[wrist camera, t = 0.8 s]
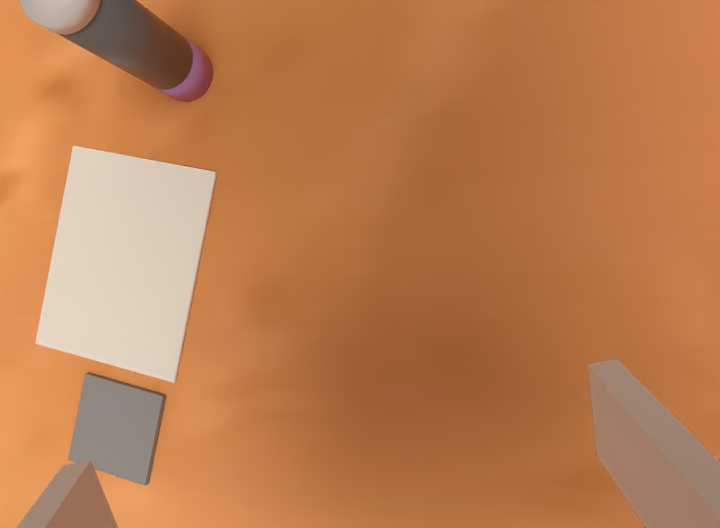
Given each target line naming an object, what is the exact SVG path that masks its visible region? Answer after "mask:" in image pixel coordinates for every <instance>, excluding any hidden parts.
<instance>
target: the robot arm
mask: <svg viewBox="0 0 720 528" xmlns="http://www.w3.org/2000/svg"><path fill="white" fill-rule="evenodd" d="M588 373H589V383H590V394H591V404H592V414H593V424H594V434H595V445H596V455H597V457H598V458H599V460H600V461H601V463H602V464H603V466H604V467H605V469H606V470H607V472H608V473H609V475H610V476H611V477H612V479H613V480H614V482H615V483H616V485H617V486H618V488H619V489H620V491H621V492H622V494H623V495H624V497H625V498H626V500H627V501H628V503H629V504H630V506H631V507H632V509H633V510H634V512H635V513H636V514H637V516H638V517H639V519H640V520H641V522H642V523H643V525H644V526H645V528H720V461H719V460H718V459H717V458H716V457H715V456H714V455H713V454H712V453H711V452H710V451H709V450H708V449H707V448H706V447H705V446H704V445H703V444H702V443H701V442H700V441H699V440H698V439H697V438H696V437H695V436H694V435H693V434H692V433H691V432H690V431H689V430H688V429H687V428H686V427H685V426H684V425H683V424H682V423H681V422H680V421H679V420H678V419H677V418H676V417H675V416H674V415H673V414H672V413H671V412H670V411H669V410H668V409H667V408H666V407H665V406H664V405H663V404H662V403H661V402H660V401H659V400H658V399H657V398H656V397H655V396H654V395H653V394H652V393H651V392H650V391H649V390H648V389H647V388H646V387H645V386H644V385H643V384H642V383H641V382H640V381H639V380H638V378H637V377H636V376H635V375H634V374H633V373H632V372H631V371H630V370H629V369H628V368H627V367H626V366H625V365H624V364H623V363H622V362H621V361H620V360H619V359H613V360H608V361H602V362H597V363H592V364H588ZM17 528H118V526H117V524H116V521H115V519H114V517H113V514H112V512H111V509H110V507H109V504H108V502H107V499H106V497H105V494H104V492H103V489H102V487H101V484H100V482H99V479H98V477H97V474H96V472H95V470H94V467H93V465H92V462H91V460H90V461H85V462H80V463H75V464H70V465H64V466H62V468H61V469H60V470H59V472H58V473H57V474H56V476H55V477H54V478H53V480H52V481H51V482H50V484H49V485H48V486H47V488H46V489H45V490H44V492H43V493H42V494H41V496H40V497H39V498H38V500H37V501H36V502H35V504H34V505H33V506H32V508H31V509H30V510H29V512H28V513H27V515H26V516H25V517H24V519H23V520H22V521H21V523H20V524H19V525H18V527H17Z"/></svg>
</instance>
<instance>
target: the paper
mask: <svg viewBox="0 0 720 528" xmlns="http://www.w3.org/2000/svg"><path fill="white" fill-rule="evenodd" d="M216 177H217V172H214V171H208V170H203V169H197V168H192V167H187V166H181V165H176V164H171V163H165V162H160V161H154V160H149V159H144V158H138V157H133V156H127V155H122V154H117V153H111V152H106V151H100V150H95V149H90V148H84V147H79V146H73V149H72V155H71V160H70V165H69V170H68V176H67V181H66V186H65V191H64V196H63V202H62V207H61V212H60V217H59V223H58V228H57V233H56V238H55V243H54V249H53V254H52V259H51V264H50V270H49V275H48V280H47V285H46V290H45V296H44V301H43V306H42V311H41V317H40V322H39V327H38V332H37V337H36V344H39V345H43V346H46V347H50V348H53V349H57V350H60V351H64V352H67V353H71V354H74V355H78V356H81V357H85V358H88V359H92V360H95V361H99V362H103V363H106V364H110V365H113V366H117V367H120V368H124V369H127V370H131V371H134V372H138V373H141V374H145V375H148V376H152V377H155V378H159V379H162V380H166V381H169V382H173V383H175V382H176V378H177V373H178V368H179V363H180V358H181V353H182V348H183V343H184V338H185V333H186V328H187V323H188V318H189V313H190V308H191V303H192V298H193V293H194V288H195V283H196V278H197V272H198V267H199V262H200V257H201V252H202V247H203V242H204V237H205V232H206V227H207V222H208V217H209V212H210V207H211V202H212V197H213V192H214V187H215V182H216Z"/></svg>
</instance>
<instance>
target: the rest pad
mask: <svg viewBox="0 0 720 528" xmlns="http://www.w3.org/2000/svg"><path fill="white" fill-rule="evenodd" d="M165 398H166V395H164V394H160V393H157V392H153V391H150V390H147V389H143V388H140V387H136V386H133V385H129V384H126V383H123V382H119V381H116V380H112V379H109V378H105V377H102V376H98V375H95V374H92V373H86V374H85V377H84V382H83V387H82V392H81V397H80V403H79V408H78V413H77V418H76V423H75V428H74V434H73V439H72V444H71V449H70V454H69V459H68V460H70V461H73V462H76V463H80V462H85V461H90V460H91V462H92V465H93V467H94V469H97V470H100V471H103V472H106V473H109V474H112V475H115V476H118V477H121V478H124V479H127V480H130V481H133V482H136V483H139V484H142V485H147V484H149V479H150V474H151V469H152V464H153V459H154V454H155V449H156V444H157V439H158V434H159V428H160V423H161V418H162V413H163V408H164V403H165Z"/></svg>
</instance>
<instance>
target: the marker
mask: <svg viewBox="0 0 720 528" xmlns="http://www.w3.org/2000/svg"><path fill="white" fill-rule="evenodd" d="M19 1H20V5H21V7H22V9H23V11H24V13H25V14H26V15H27V17H28V18H29V19H31V20H32V21H33V22H35V23H37V24H39V25H40V26H42V27H44V28H46V29H48V30H49V31H51V32H53V33H56V34H59V35H61V36H63V37H64V38H66V39H68V40H70V41H72V42H73V43H75V44H77V45H79V46H81V47H82V48H84V49H86V50H88V51H90V52H92V53H93V54H95V55H97V56H99V57H101V58H102V59H104V60H106V61H108V62H110V63H111V64H113V65H115V66H117V67H119V68H120V69H122V70H124V71H126V72H128V73H130V74H131V75H133V76H135V77H137V78H139V79H140V80H142V81H144V82H146V83H148V84H149V85H151V86H153V87H155V88H157V89H159V90H160V91H162V92H164V93H166V94H168V95H169V96H171V97H173V98H175V99H177V100H179V101H185V102H187V101H193V100H195V99H197V98H199V97H201V96H202V95H203V94H204V93H205V92H206V91H207V89H208V88H209V86H210V83H211V80H212V75H213V69H212V64H211V61H210V59H209V57H208V56H207V55H206V54H205V53H204V52H203V51H202V50H200V49H199V48H198V47H196V46H195V45H194V44H192V43H191V42H190V41H188V40H187V39H186V38H185V37H183V36H182V35H181V34H179V33H178V32H177V31H175V30H174V29H173V28H171V27H170V26H169V25H168V24H166V23H165V22H164V21H162V20H161V19H160V18H158V17H157V16H156V15H154V14H153V13H152V12H151V11H149V10H148V9H147V8H145V7H144V6H143V5H141V4H140V3H139V2H137V1H136V0H19Z"/></svg>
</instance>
